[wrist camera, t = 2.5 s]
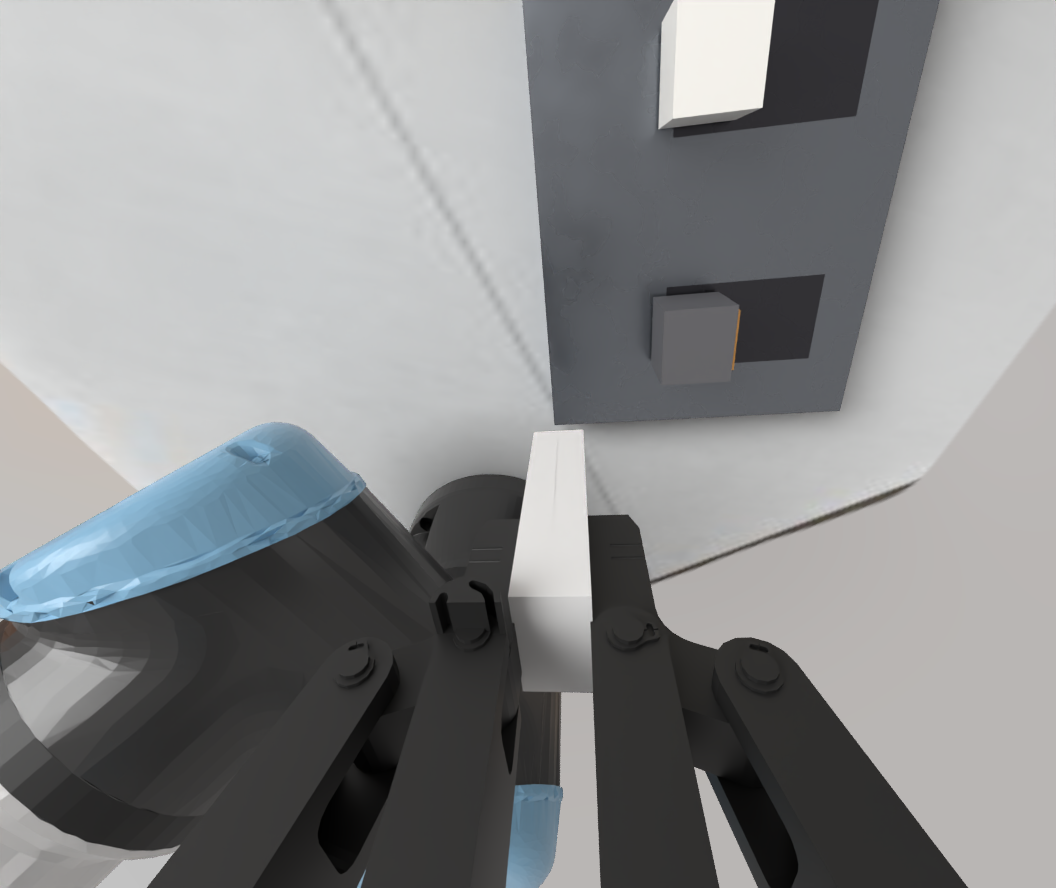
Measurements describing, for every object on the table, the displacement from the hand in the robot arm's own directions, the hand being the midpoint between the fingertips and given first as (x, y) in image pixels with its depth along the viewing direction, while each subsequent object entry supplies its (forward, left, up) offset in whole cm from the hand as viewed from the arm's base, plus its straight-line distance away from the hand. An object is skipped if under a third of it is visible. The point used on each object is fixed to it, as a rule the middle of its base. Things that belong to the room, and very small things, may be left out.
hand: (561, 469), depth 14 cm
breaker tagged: (0, -7, -15) cm, 17 cm away
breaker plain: (+12, -7, -15) cm, 21 cm away
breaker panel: (+5, -8, -19) cm, 21 cm away
